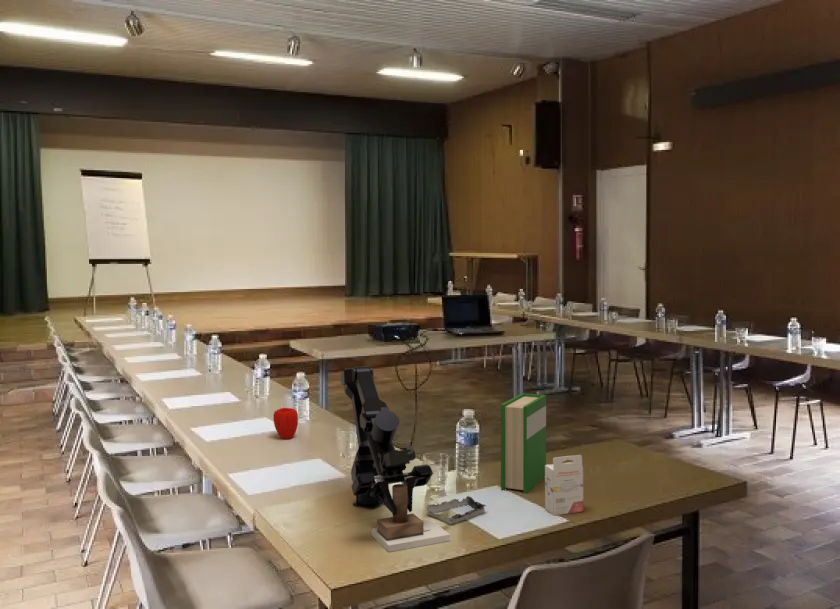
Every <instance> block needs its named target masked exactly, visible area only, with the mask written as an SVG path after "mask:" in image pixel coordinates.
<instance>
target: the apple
mask: <svg viewBox="0 0 840 609" xmlns="http://www.w3.org/2000/svg"><path fill="white" fill-rule="evenodd" d="M298 415H299V413H298V411H297V410H296V409H295V408H291V407H281V408H279V409H277V410H274V411H273V425H274V428H275V431H276V433H277V434H278V436H279V438H281V439H284V440H291V439H293V438H294V436H296V435H295V434H296V432H297V429H298V424H299V416H298Z"/></svg>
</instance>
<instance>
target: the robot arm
mask: <svg viewBox="0 0 840 609" xmlns="http://www.w3.org/2000/svg"><path fill="white" fill-rule="evenodd" d="M374 375H375V374H374V368H372V366H368V365H367V366H366V365H365V366H355V367H346V368H344V370H342V372H341V373H340V383H341V385H342V386H343V389H344V390H343V391H344V393H345V395H346V396H347V397H348V398H349V399H350V400H351V404H352V411H353V419H354V426H355V430H356V431H355V432H356V438H357V444H358V449H357V451H356V453H355V457H354V459H353V460H354V461H353V462H352V467H351V470H350V474H351V475H350V476H351V481H352V484H351V490H352V494H353V496H354V497H355V501H354V502H352V505H353V506H356V507H360V508H365V509H366V508H367V509H373V510H374V509H376V508H377V507H379V506H381V505H382V504H383V505H384V506H385V507H386V508H387V509H388V511H390V513H391V514H392V516H393V515H396V508H395V505H394V502H393V499H392V494H391V492H390V486H389V485H391V484H404V485H407V512H409V513H412V512H413V492H414V491H413V490H414V489H415V488H417V487H422V486H423V487H425V485H427V484H428V483H429V481H430V480H431V477H432V476H433V474H434V472H433V469H432V467H431V466H430V465H429V464H420V465H414V466H413V468H412V469H411V471H410V472H405V473H404V472H403V471H405V470H406V468H407V466H406V465H409V464H410V463H411V462H412V461H414V460H415V459H416V458H417V457H416V451H415V448H414V446H413V445H410V446H405V447H403V449H400V450H399V449H396V447H395V445H394V444H395V443H394V442H393V441H394V440H395V438H396V435H397V432H398V428H399V425H400V418H399V416H398V415H397V414H396V413H395V412H393V411H391V410H390V409H389V407H388V405H387V403H386V402H384V401H383V400H381V398H380V397H379V394H378V391H377V386H376V384H375V376H374Z"/></svg>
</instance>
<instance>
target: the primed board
mask: <svg viewBox="0 0 840 609" xmlns="http://www.w3.org/2000/svg"><path fill="white" fill-rule="evenodd" d="M421 520H422V521H423V535H418V536H413V537H407V538H401V539H395V540H390V541H386V540H385V539H384V538H383V537H382V536H381V535H380V534H379V533H378V532H377V527H374V528H371V536H372V537H373V538H374V539H375V541H376V542H378V543H379V544H380V545H381V546H382V547H383V548H384V549H385V550H386V551H387V552H388V553H390V552H396V551H402V550H407V549H408V550H409V549H414V548H418V547H419V548H420V547H424V546H429V545H435V544H441V543H446V542H450V540H451V534H450V533H448V531H446V530H445V529H443V528H442V527H441V526H440V525H438V524H437V523H436V522H434V521H433V520H432V519H431V518H429V519H421Z"/></svg>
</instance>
